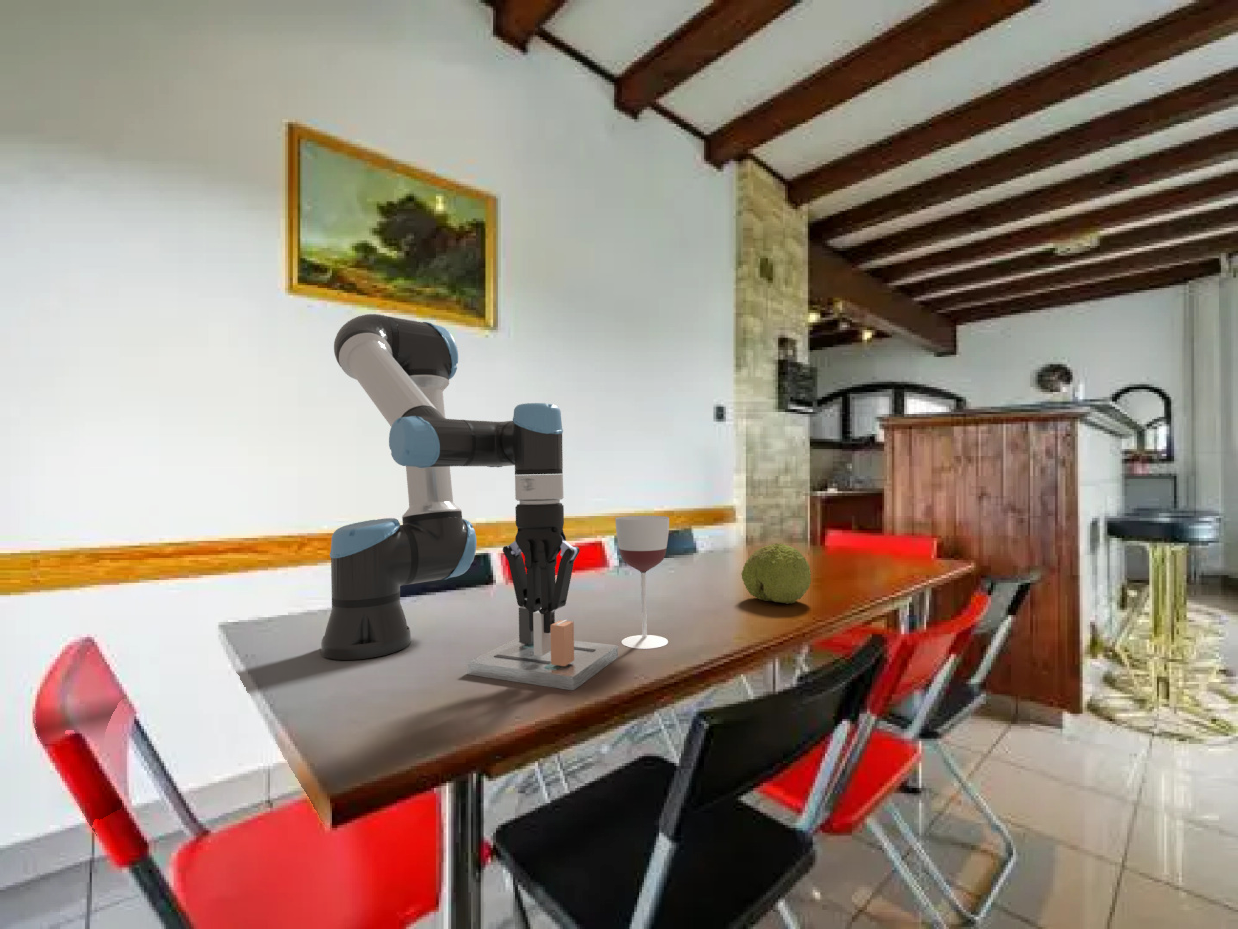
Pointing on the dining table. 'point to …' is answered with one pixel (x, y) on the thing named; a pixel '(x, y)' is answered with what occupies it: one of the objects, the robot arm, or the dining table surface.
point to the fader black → (525, 627)
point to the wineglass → (643, 561)
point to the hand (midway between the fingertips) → (542, 652)
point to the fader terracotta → (562, 642)
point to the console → (543, 664)
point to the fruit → (777, 574)
